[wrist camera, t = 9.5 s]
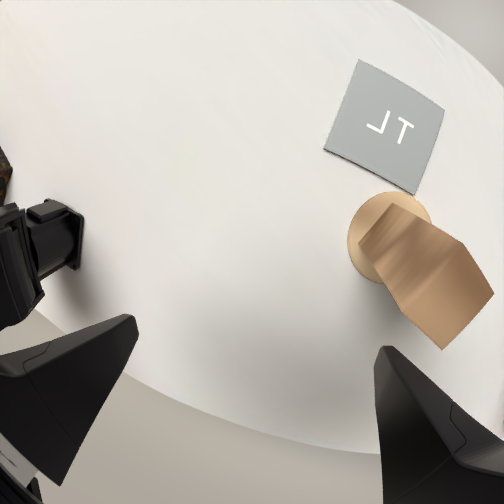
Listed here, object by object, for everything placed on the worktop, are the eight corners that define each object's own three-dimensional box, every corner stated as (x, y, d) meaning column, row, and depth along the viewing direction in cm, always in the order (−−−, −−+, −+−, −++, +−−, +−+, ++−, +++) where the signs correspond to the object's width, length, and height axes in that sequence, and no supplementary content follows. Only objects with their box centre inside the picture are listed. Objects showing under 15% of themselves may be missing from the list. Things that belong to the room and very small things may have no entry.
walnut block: (391, 274, 20) (441, 350, 11) (357, 243, 20) (401, 312, 10) (424, 236, 19) (494, 293, 9) (391, 202, 18) (463, 243, 9)
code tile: (412, 194, 18) (414, 195, 18) (323, 148, 18) (323, 147, 18) (443, 110, 15) (444, 110, 15) (357, 60, 15) (358, 59, 15)
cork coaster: (403, 293, 21) (405, 295, 21) (331, 261, 21) (332, 263, 21) (444, 217, 18) (446, 218, 18) (372, 174, 18) (373, 175, 18)
